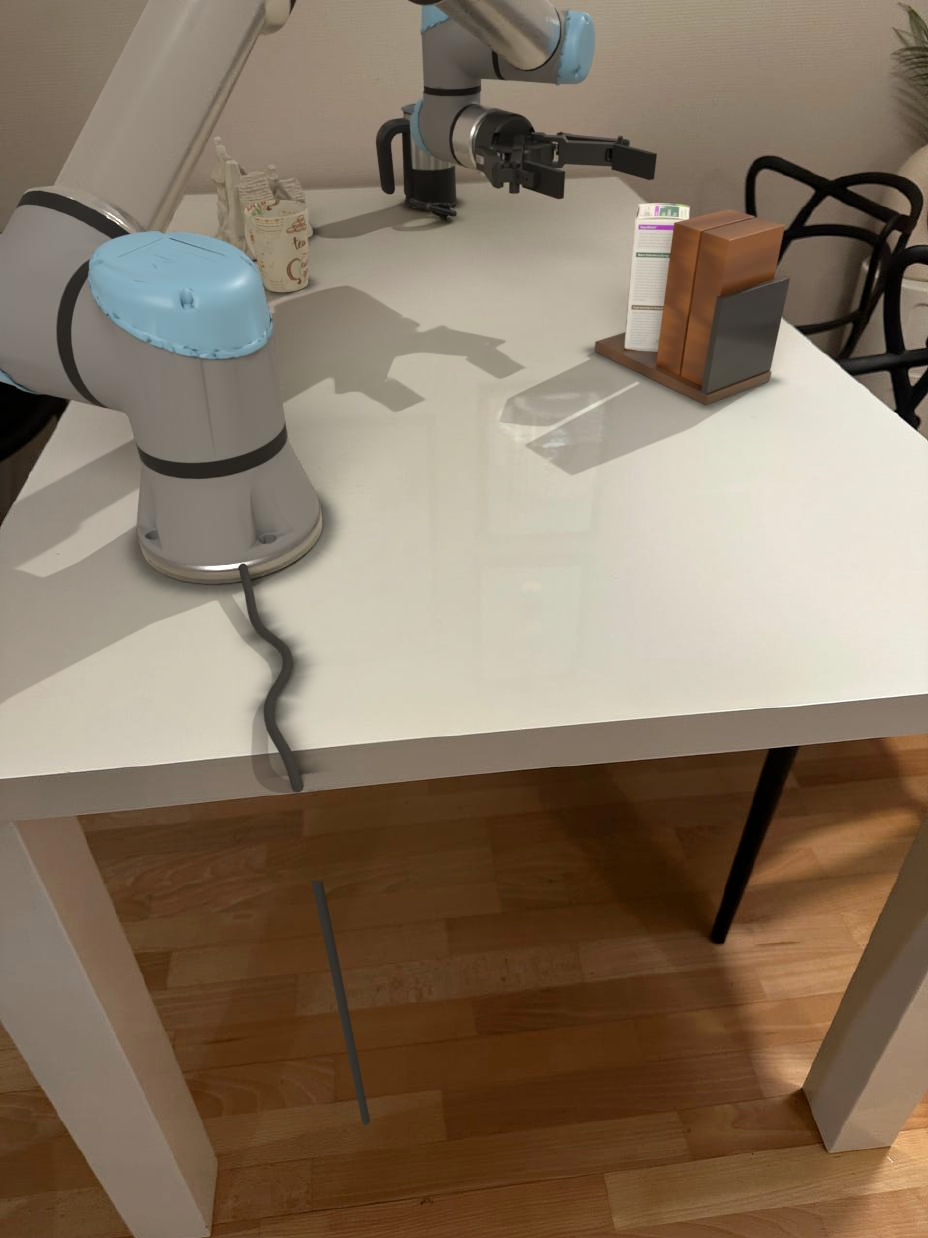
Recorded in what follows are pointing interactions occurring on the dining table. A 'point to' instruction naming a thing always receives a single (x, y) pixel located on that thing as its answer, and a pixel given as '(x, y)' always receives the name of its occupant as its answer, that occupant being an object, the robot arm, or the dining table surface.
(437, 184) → the milk frother
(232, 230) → the ceramic cottage
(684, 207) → the syrup box
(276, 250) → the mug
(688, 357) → the wooden bookend
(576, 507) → the dining table surface
